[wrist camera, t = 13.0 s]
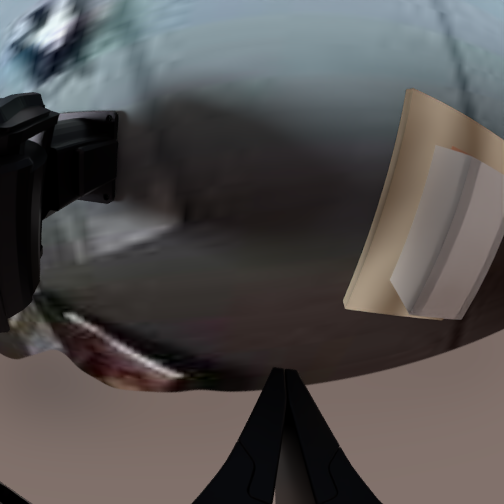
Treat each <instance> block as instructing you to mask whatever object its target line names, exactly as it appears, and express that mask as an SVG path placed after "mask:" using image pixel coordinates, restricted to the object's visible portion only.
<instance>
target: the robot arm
mask: <svg viewBox="0 0 504 504" xmlns="http://www.w3.org/2000/svg"><path fill="white" fill-rule="evenodd" d="M110 115H111V116H112V121H110V120H109V116H110ZM117 126H118V114H117V113H116V112H115V111H91V112H72V113H57V112H53V111H50V110H48V109H46V108H45V105H44V104H43V101H42V98H41V94H39V93H35V92H32V93H21V94H14V95H10V96H7V97H5V98H0V333H1V332H8V331H9V330H10V327H9V323H8V318H10V317H12V316H14V315H15V314H17V313H19V312H20V311H22V310H24V309H25V308H26V307H27V306H28V305H29V304H30V303H31V302H32V295H33V294H34V292H35V290H36V287H37V285H38V283H39V281H40V258H41V256H42V254H43V246H42V245H41V232H42V220H44V219H45V218H47V217H48V216H50V215H52V214H53V213H55V212H56V211H59V210H60V209H62V208H64V207H65V206H67V205H69V204H70V203H72V202H74V201H75V200H84V201H91V202H98V203H105V204H108V203H110V202H112V201H113V200H114V197H115V178H116V171H117V148H118V142H117V141H116V139H117ZM106 194H108V195H109V198H107V197H106ZM274 491H275V493H276V494H275V496H276V504H382V503H381V502H380V501H379V500H378V499H377V498H376V496H375V495H374V494H373V492H372V491H371V490H370V489H369V487H368V486H367V485H366V484H365V482H364V481H363V480H362V479H361V478H360V476H359V475H358V473H357V472H356V471H355V469H354V468H353V467H352V465H351V464H350V462H349V460H348V459H347V457H346V456H345V454H344V452H343V450H342V449H341V447H339V444H338V442H337V440H336V439H335V437H334V435H333V433H332V432H331V430H330V428H329V427H328V425H327V423H326V421H325V419H324V418H323V416H322V414H321V412H320V411H319V409H318V407H317V405H316V404H315V402H314V400H313V398H312V397H311V395H310V393H309V391H308V390H307V388H306V386H305V384H304V382H303V381H302V379H301V377H300V375H299V373H298V372H297V371H296V370H293V369H285V370H284V369H283V368H277V367H273V368H272V370H271V373H270V375H269V377H268V379H267V381H266V383H265V386H264V388H263V390H262V392H261V394H260V396H259V398H258V401H257V403H256V405H255V407H254V409H253V411H252V413H251V415H250V417H249V419H248V421H247V423H246V425H245V427H244V429H243V431H242V433H241V435H240V437H239V439H238V441H237V442H236V444H235V446H234V448H233V450H232V452H231V453H230V455H229V457H228V459H227V460H226V462H225V463H224V465H223V466H222V468H221V469H220V470H219V472H218V473H217V474H216V475H215V477H214V478H213V479H212V480H211V482H210V483H209V484H208V485H207V486H206V488H205V489H204V490H203V491H202V492H201V493H200V495H199V496H198V497H197V498H196V499H195V500H194V502H193V503H192V504H272V503H273V497H274ZM0 504H32V503H30V502H29V501H27V500H26V499H25V498H23V497H22V496H20V495H19V494H17V493H16V492H15V491H13V490H12V489H10V488H9V487H7V486H6V485H4V484H3V483H2V482H0Z"/></svg>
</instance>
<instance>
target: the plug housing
mask: <svg viewBox="0 0 504 504" xmlns="http://www.w3.org/2000/svg"><path fill="white" fill-rule="evenodd" d="M503 236H504V175H503V174H501V173H500V172H498V171H497V170H495V169H493V168H492V167H490V166H488V165H487V164H485V163H483V162H481V161H480V160H478V159H476V158H474V157H472V156H470V155H467V154H464V153H461V152H458V151H454V150H451V149H448V148H445V147H441V146H438V145H436V146H435V150H434V154H433V158H432V162H431V165H430V169H429V173H428V176H427V180H426V183H425V186H424V190H423V193H422V196H421V199H420V202H419V205H418V209H417V211H416V214H415V217H414V220H413V223H412V226H411V229H410V231H409V234H408V237H407V239H406V242H405V244H404V247H403V250H402V252H401V255H400V257H399V259H398V262H397V264H396V267H395V269H394V271H393V274H392V276H391V278H390V281H391V283H392V285H393V286H394V288H395V290H396V292H397V293H398V295H399V297H400V299H401V300H402V302H403V304H404V306H405V308H406V309H407V311H408V313H409V315H415V316H425V317H435V318H445V319H456V320H461V319H462V318H463V316H464V315H465V313H466V311H467V309H468V308H469V306H470V304H471V303H472V301H473V299H474V297H475V295H476V294H477V292H478V290H479V288H480V286H481V284H482V282H483V280H484V278H485V276H486V274H487V272H488V270H489V268H490V266H491V264H492V261H493V259H494V257H495V255H496V252H497V250H498V248H499V245H500V243H501V241H502V238H503Z"/></svg>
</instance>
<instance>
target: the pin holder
mask: <svg viewBox="0 0 504 504" xmlns="http://www.w3.org/2000/svg"><path fill="white" fill-rule="evenodd" d="M436 145H438V146H441V147H445V148H448V149H451V150H454V151H458V152H461V153H464V154H467V155H470V156H472V157H474V158H476V159H478V160H480V161H481V162H483V163H485V164H487V165H488V166H490V167H492V168H493V169H495V170H497V171H498V172H500V173H501V174H503V175H504V140H502V139H501V138H500V137H498V136H497V135H495V134H494V133H492V132H491V131H490V130H488V129H487V128H485V127H483V126H482V125H480V124H479V123H477V122H476V121H474V120H472V119H471V118H469V117H467V116H466V115H464V114H462V113H461V112H459V111H457V110H455V109H454V108H452V107H450V106H448V105H446V104H444V103H442V102H441V101H439V100H437V99H435V98H433V97H431V96H429V95H427V94H424V93H422V92H420V91H418V90H416V89H414V88H412V89H406V95H405V100H404V105H403V110H402V115H401V120H400V125H399V129H398V134H397V138H396V142H395V146H394V150H393V154H392V158H391V162H390V166H389V169H388V173H387V177H386V180H385V184H384V187H383V190H382V194H381V197H380V200H379V204H378V207H377V210H376V213H375V216H374V219H373V222H372V225H371V228H370V231H369V234H368V237H367V240H366V243H365V245H364V248H363V251H362V254H361V256H360V259H359V262H358V264H357V267H356V270H355V272H354V275H353V277H352V280H351V282H350V285H349V287H348V290H347V292H346V295H345V297H344V299H343V303H344V306H345V309H350V310H357V311H365V312H372V313H380V314H389V315H397V316H406V317H415V318H424V319H434V320H443V318H435V317H425V316H415V315H409V313H408V311H407V309H406V308H405V306H404V304H403V302H402V300H401V299H400V297H399V295H398V293H397V292H396V290H395V288H394V286H393V285H392V283H391V281H390V278H391V276H392V274H393V271H394V269H395V267H396V264H397V262H398V259H399V257H400V255H401V252H402V250H403V247H404V244H405V242H406V239H407V237H408V234H409V231H410V229H411V226H412V223H413V220H414V217H415V214H416V211H417V209H418V205H419V202H420V199H421V196H422V193H423V190H424V186H425V183H426V180H427V176H428V173H429V169H430V165H431V162H432V158H433V154H434V150H435V146H436Z"/></svg>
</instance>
